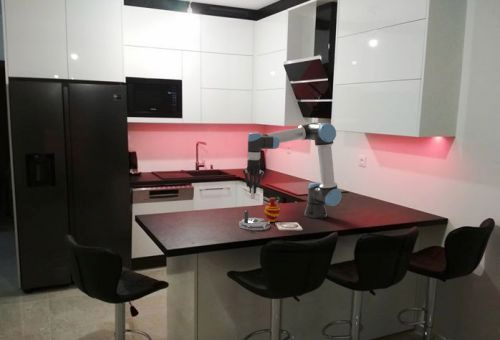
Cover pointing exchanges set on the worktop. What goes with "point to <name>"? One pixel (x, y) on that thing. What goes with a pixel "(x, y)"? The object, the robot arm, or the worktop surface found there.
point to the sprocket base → (254, 228)
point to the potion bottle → (272, 210)
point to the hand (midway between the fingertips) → (252, 198)
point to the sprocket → (253, 221)
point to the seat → (288, 226)
